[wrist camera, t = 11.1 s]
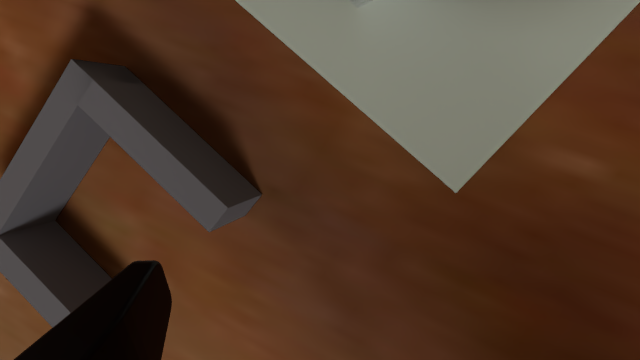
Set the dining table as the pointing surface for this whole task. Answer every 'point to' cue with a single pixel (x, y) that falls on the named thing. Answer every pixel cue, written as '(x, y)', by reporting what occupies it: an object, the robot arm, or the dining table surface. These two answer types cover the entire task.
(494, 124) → the off-white mat
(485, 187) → the dining table surface
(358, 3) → the steel post
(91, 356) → the robot arm
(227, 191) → the c collar
